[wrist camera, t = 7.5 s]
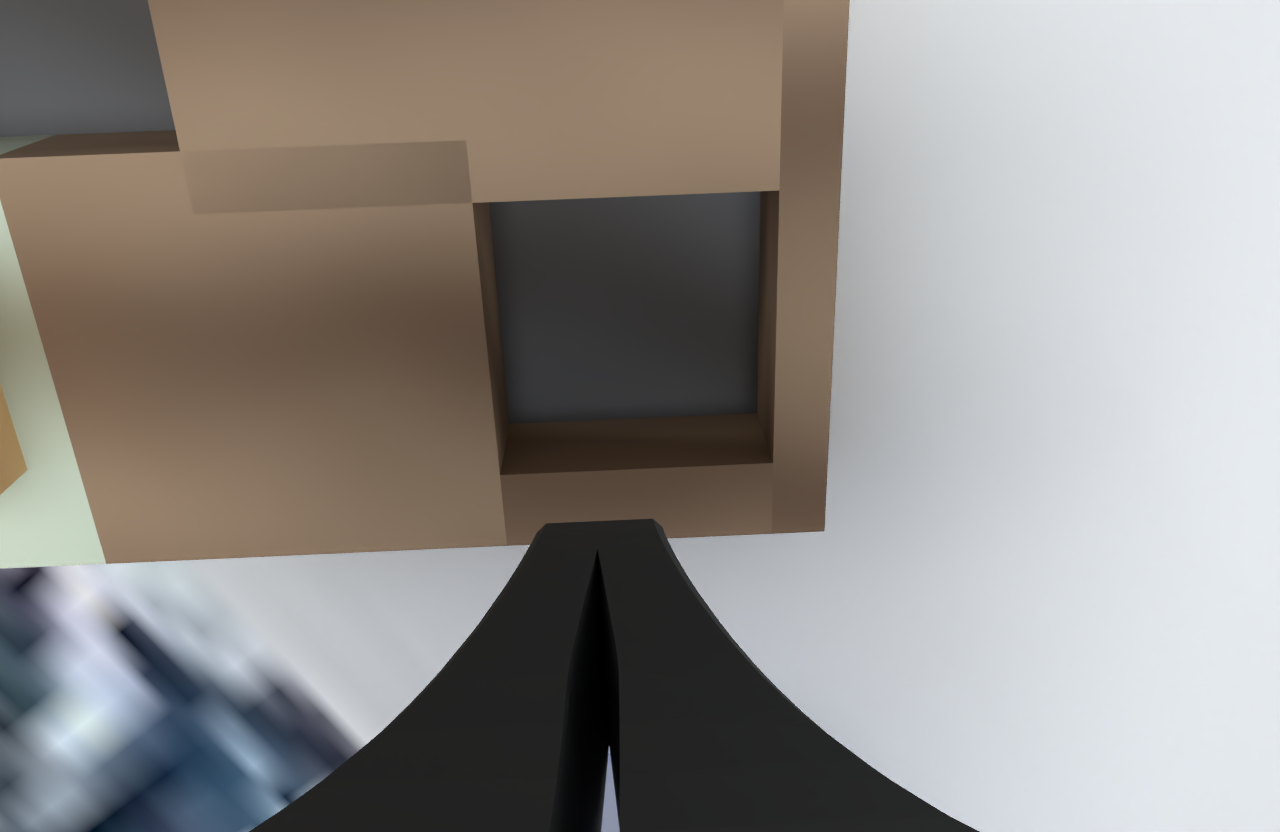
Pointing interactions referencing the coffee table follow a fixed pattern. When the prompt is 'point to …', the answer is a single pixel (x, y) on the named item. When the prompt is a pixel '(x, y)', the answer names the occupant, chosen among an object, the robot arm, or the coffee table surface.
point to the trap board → (414, 271)
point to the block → (9, 449)
